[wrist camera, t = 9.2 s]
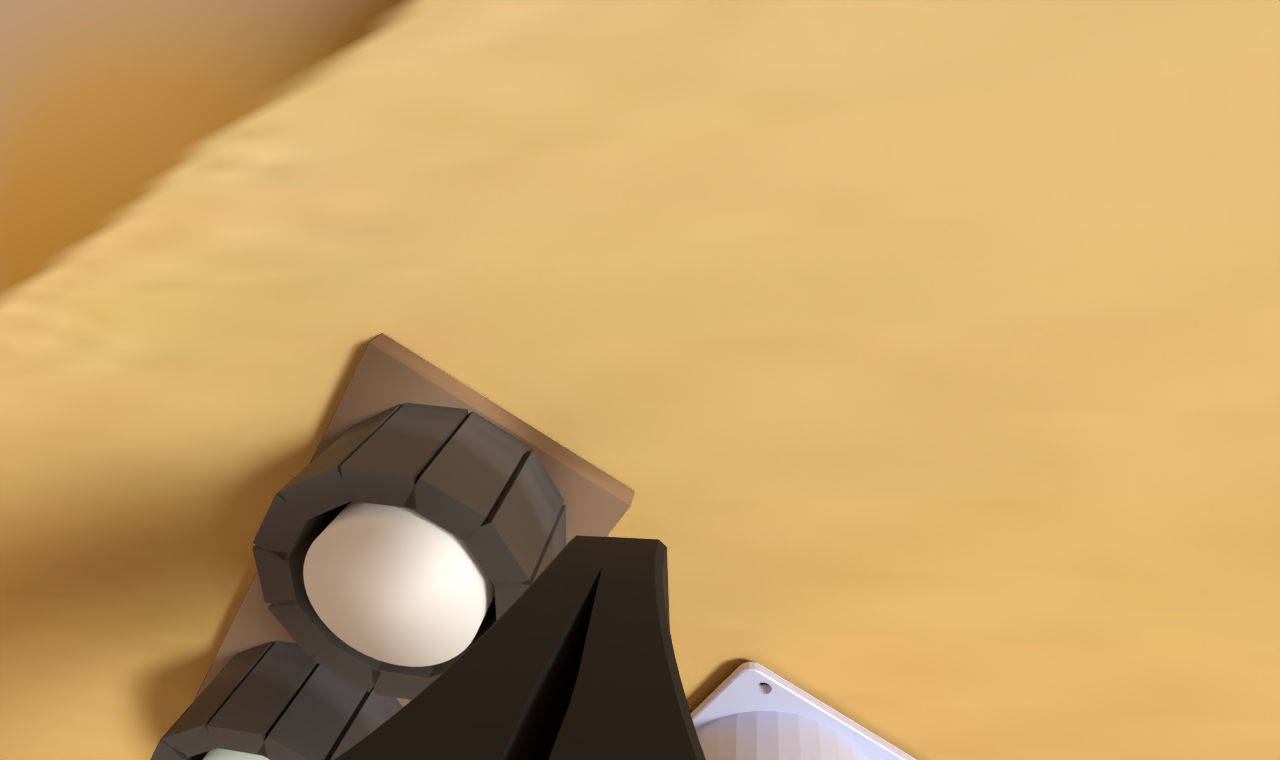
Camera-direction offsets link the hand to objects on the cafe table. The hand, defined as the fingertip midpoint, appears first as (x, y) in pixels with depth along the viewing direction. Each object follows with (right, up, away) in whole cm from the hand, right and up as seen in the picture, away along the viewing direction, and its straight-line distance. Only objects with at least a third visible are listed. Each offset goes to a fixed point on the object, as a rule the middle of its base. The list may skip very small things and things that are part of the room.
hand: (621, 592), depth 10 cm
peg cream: (-6, -1, +12) cm, 13 cm away
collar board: (-9, -5, +15) cm, 19 cm away
